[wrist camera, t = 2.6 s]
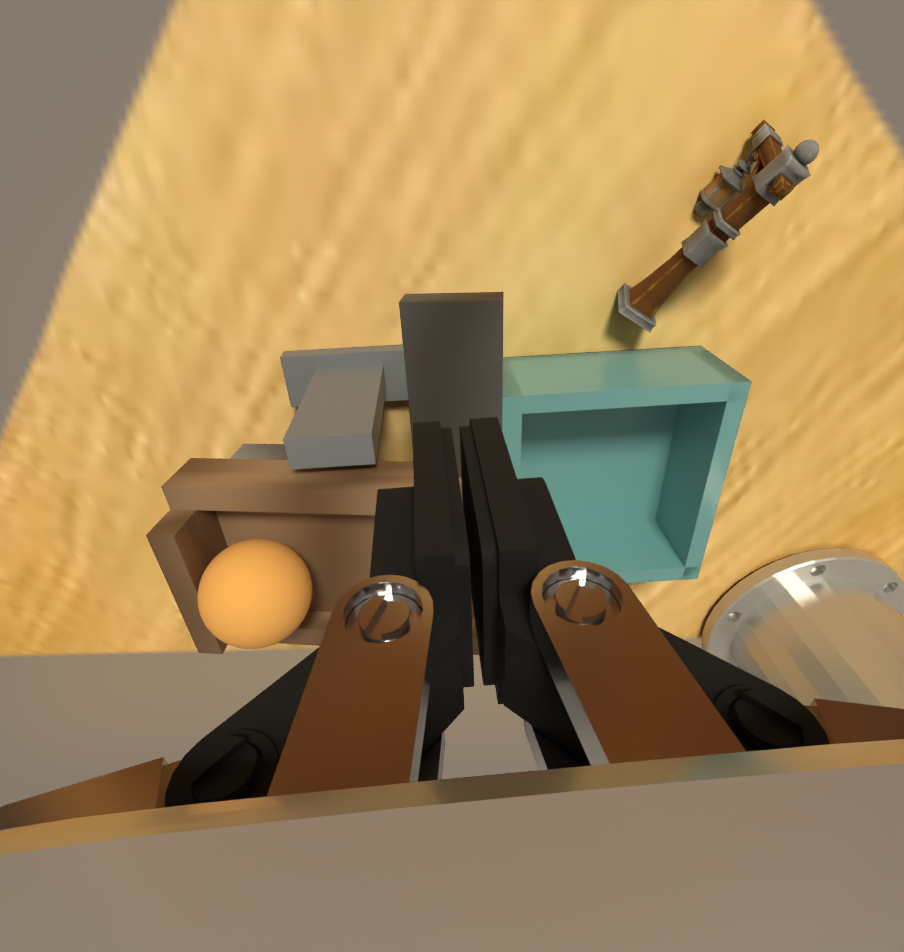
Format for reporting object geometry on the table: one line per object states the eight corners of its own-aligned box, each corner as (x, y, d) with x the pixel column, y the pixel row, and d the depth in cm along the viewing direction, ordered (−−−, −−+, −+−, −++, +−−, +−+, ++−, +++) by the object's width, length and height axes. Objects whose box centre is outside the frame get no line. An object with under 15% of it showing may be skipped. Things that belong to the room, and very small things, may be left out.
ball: (332, 533, 20) (302, 610, 17) (315, 602, 23) (285, 683, 19) (229, 505, 20) (177, 578, 17) (221, 578, 22) (174, 657, 19)
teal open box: (700, 345, 25) (751, 381, 21) (662, 524, 30) (697, 578, 27) (489, 358, 25) (502, 396, 21) (490, 536, 30) (500, 592, 26)
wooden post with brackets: (807, 116, 19) (841, 170, 17) (644, 277, 25) (650, 335, 23) (774, 85, 19) (804, 136, 16) (616, 257, 25) (618, 315, 22)
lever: (505, 271, 18) (500, 326, 13) (502, 572, 26) (498, 687, 20) (183, 279, 20) (54, 331, 14) (269, 563, 27) (206, 668, 22)
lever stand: (415, 343, 24) (413, 415, 18) (432, 552, 31) (435, 659, 24) (283, 351, 24) (233, 426, 18) (329, 558, 31) (305, 668, 24)
